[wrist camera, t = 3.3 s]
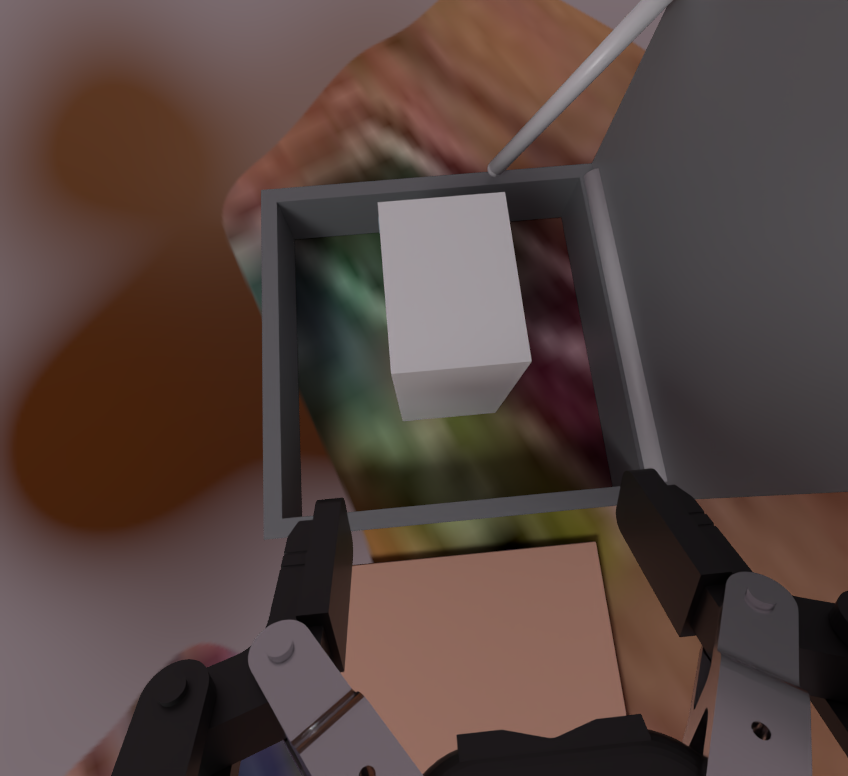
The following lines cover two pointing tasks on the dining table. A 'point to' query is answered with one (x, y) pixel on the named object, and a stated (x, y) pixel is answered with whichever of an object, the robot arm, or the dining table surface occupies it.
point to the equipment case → (655, 261)
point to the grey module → (452, 304)
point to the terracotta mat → (483, 645)
